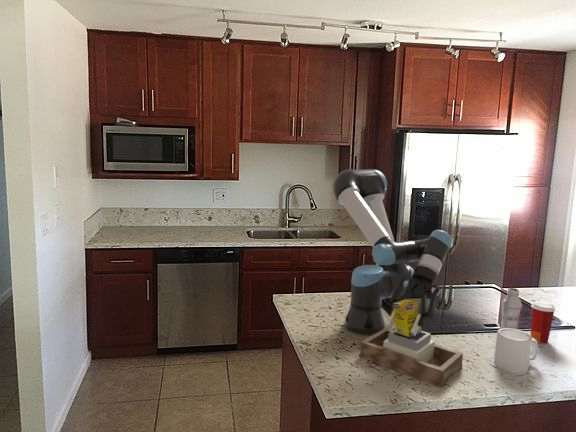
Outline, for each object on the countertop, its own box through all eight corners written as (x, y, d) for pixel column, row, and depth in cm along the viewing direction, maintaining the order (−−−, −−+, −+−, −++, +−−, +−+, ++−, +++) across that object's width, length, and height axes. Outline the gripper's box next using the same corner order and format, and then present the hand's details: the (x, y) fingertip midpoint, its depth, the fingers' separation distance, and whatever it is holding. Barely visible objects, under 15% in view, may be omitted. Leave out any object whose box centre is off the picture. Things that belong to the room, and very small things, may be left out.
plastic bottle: (520, 347, 165) (526, 293, 162) (499, 345, 166) (505, 291, 163) (515, 339, 171) (521, 287, 168) (495, 337, 173) (501, 285, 169)
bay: (359, 356, 155) (360, 342, 154) (384, 340, 167) (385, 327, 167) (440, 387, 137) (441, 371, 136) (462, 367, 149) (463, 352, 149)
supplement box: (409, 339, 147) (404, 305, 147) (396, 335, 152) (391, 302, 152) (422, 334, 150) (418, 301, 149) (409, 330, 155) (405, 298, 155)
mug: (522, 355, 159) (525, 326, 157) (544, 370, 149) (548, 339, 147) (487, 359, 155) (490, 329, 154) (507, 374, 146) (511, 342, 144)
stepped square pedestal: (382, 357, 152) (384, 333, 150) (400, 346, 161) (401, 323, 159) (416, 370, 144) (418, 345, 143) (433, 357, 153) (435, 333, 152)
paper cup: (550, 338, 173) (554, 302, 171) (551, 346, 166) (556, 309, 164) (526, 334, 176) (530, 299, 174) (527, 342, 169) (531, 305, 167)
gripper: (459, 283, 154) (434, 345, 145) (402, 270, 167) (376, 325, 158) (454, 271, 149) (428, 334, 140) (396, 258, 162) (369, 315, 153)
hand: (401, 329), depth 149 cm, fingers closed on supplement box, 8 cm apart
